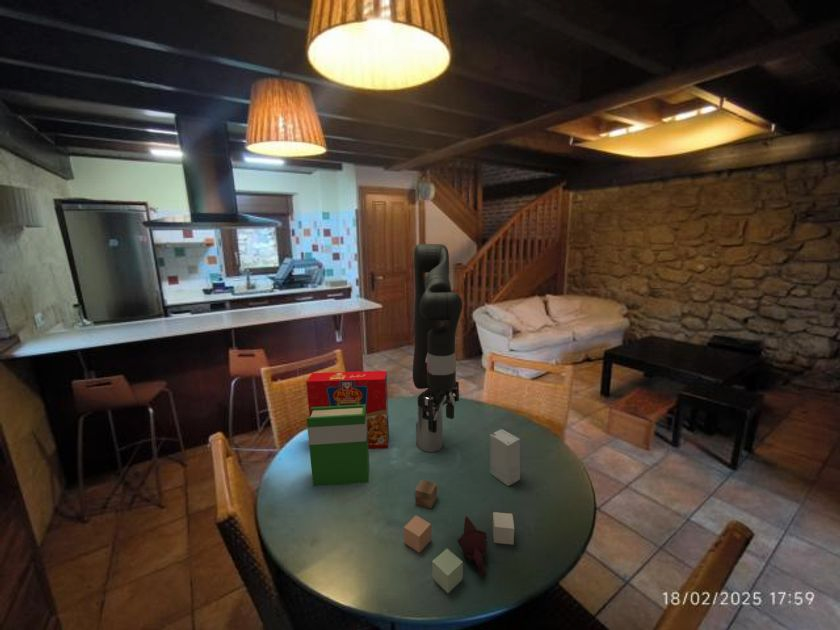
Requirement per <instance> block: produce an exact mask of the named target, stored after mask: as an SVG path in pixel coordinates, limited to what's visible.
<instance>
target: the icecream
mask: <svg viewBox="0 0 840 630" xmlns="http://www.w3.org/2000/svg"><path fill="white" fill-rule="evenodd" d="M487 539H488V536H487V533H486V532H485V531H482V530H480V529H477V527H476V526H475V525H474V523H473V522H472V521H471V519H470V518H469V517H468V516H467V515H465V516H464V524H463V534H462V535H461V536H460V538H458V539H457V543H458V546H459V547H460V548H461V551H462V553H463V554H464V556H465V557H466V558H467V560H469V561H474V562H475V564H476V567H477V570H478V573H479V576H480V577H482V578H483V577H485V576H486V566H485V563H484V558H483V557H484V556H485V554H486V552H487V548H488V547H487V546H488V543H487V541H488V540H487Z"/></svg>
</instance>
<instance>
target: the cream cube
mask: <svg viewBox="0 0 840 630" xmlns="http://www.w3.org/2000/svg"><path fill="white" fill-rule="evenodd" d="M492 534H493V535H492V537H493V538H492V539H493V544H504V545H514V543H515V542H514V541H515V540H514V539H515V524H514V517H513V513H509V512H508V513H507V512H498V511H497V512H496V511H495V512H494V511H493V512H492Z"/></svg>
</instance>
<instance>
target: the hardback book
mask: <svg viewBox="0 0 840 630" xmlns="http://www.w3.org/2000/svg"><path fill="white" fill-rule="evenodd" d="M306 428H307V434H308V435H307V437H308V446H309V448H308V449H309V457H310V459H309V460H310V467H311V469H310V470H311V477H312V487H324V486H338V485H349V484H350V485H353V484H361V483H362V484H363V483H364V484H365V483H366V484H367V483H369V480H370V452H369V450H370V449H368V432H367V414H366V404H360V405H343V406H326V407H311V417H310V416H307V417H306Z"/></svg>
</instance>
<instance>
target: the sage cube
mask: <svg viewBox="0 0 840 630" xmlns="http://www.w3.org/2000/svg"><path fill="white" fill-rule="evenodd" d="M463 567H464V562H463V561H462V560H461V559H460V558H459V557H457V556H456V555H455V553H453V552H452V551H451V550H449V548H446V549H444V551H442V552H441V553H440V554H438V555H437V556H436V557H435V558H434V559H433V560H431V568H432V569H431V570H432V571H431V572H432V580H434V581H435V582H436V583H437V584H438V585H439V586H440V587H441V588H442V589H443V590H444V592H446V593H447V594H449V593H450V592H451V591H452V590H453V589H454V588H455V587H456V586H457V585H458V584H460V582H462V581H463V577H464V576H463V575H464V574H463V573H464V572H463V570H464V568H463Z"/></svg>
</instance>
